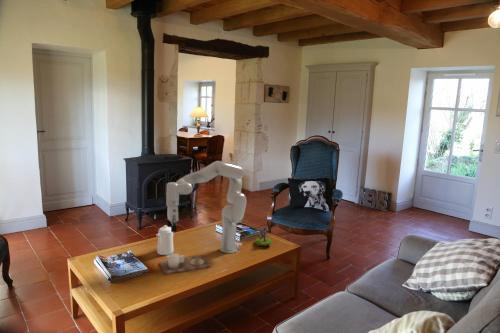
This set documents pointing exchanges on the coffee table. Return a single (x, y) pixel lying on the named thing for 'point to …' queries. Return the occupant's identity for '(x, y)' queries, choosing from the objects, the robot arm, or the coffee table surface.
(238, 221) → the robot arm
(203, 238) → the coffee table surface
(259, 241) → the animal figurine
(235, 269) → the coffee table surface
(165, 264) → the board
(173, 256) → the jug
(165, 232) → the coffeepot
